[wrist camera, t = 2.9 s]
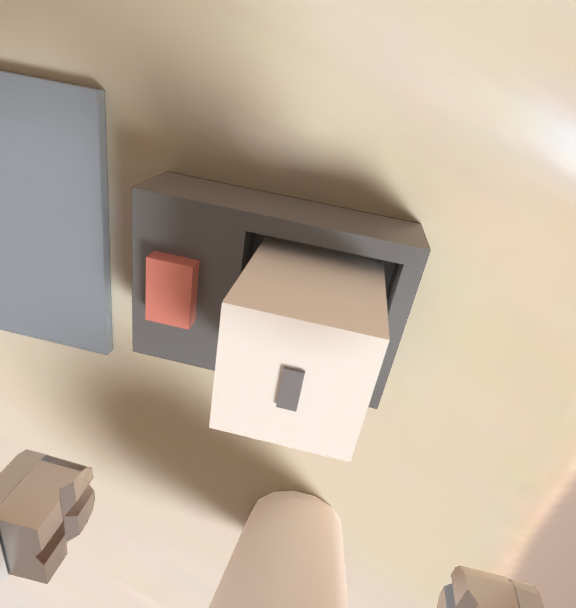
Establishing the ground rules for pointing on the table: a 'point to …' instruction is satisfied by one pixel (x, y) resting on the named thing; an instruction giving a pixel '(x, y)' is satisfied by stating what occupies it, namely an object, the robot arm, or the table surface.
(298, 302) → the block
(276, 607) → the foam cup
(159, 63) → the table surface
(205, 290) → the power strip
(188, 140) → the table surface
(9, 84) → the rubber mat
